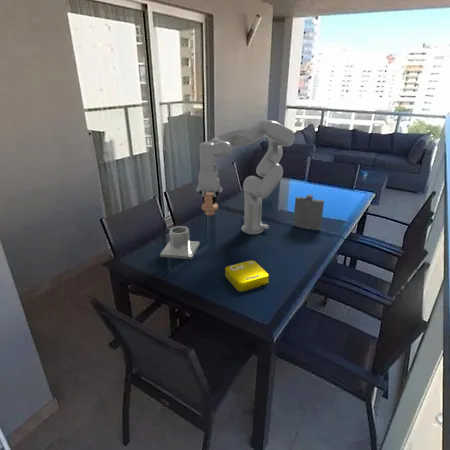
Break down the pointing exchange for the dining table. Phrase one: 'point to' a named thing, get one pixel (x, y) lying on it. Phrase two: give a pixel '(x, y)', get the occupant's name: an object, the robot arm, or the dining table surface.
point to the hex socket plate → (180, 244)
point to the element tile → (246, 275)
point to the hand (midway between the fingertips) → (209, 202)
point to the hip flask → (308, 213)
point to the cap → (209, 204)
